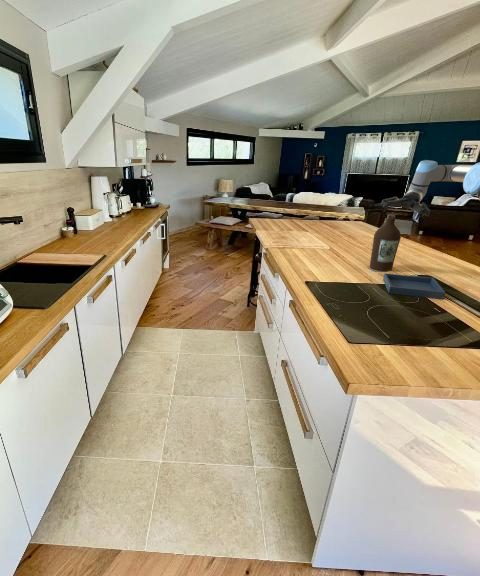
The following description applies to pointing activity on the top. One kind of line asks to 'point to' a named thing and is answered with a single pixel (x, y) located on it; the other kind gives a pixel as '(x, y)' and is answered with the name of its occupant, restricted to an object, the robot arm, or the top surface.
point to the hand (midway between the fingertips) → (400, 213)
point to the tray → (413, 286)
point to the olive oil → (385, 245)
